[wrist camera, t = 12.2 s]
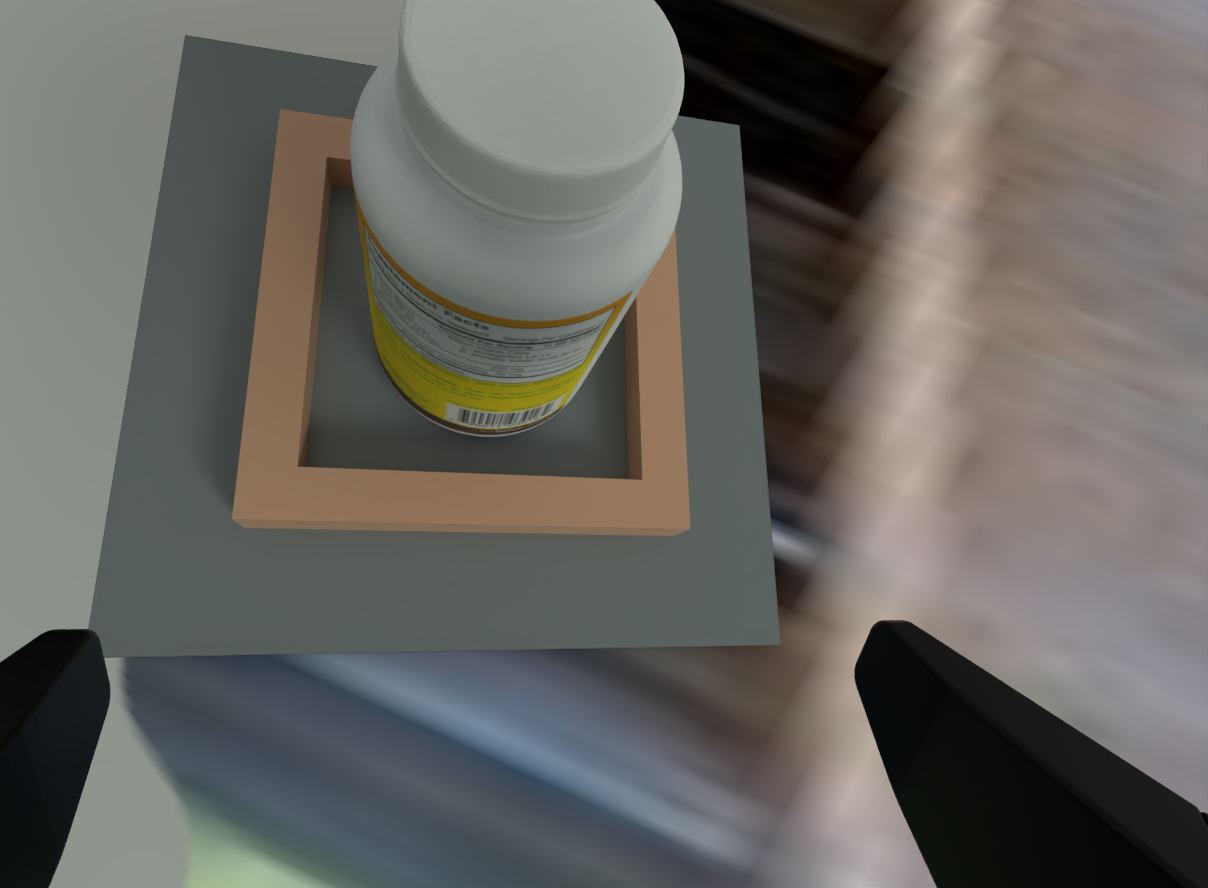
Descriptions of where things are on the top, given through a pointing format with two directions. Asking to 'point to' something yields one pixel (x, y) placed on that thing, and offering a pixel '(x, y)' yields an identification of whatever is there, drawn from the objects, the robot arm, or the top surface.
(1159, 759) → the top surface
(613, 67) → the supplement bottle
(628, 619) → the dock
